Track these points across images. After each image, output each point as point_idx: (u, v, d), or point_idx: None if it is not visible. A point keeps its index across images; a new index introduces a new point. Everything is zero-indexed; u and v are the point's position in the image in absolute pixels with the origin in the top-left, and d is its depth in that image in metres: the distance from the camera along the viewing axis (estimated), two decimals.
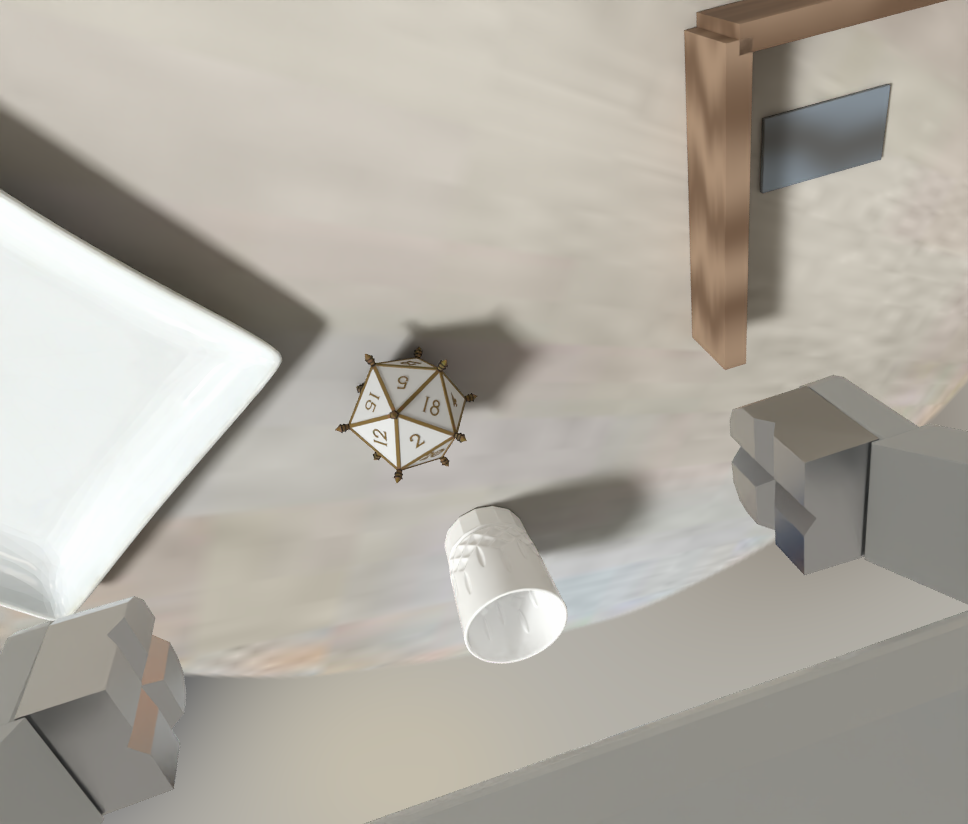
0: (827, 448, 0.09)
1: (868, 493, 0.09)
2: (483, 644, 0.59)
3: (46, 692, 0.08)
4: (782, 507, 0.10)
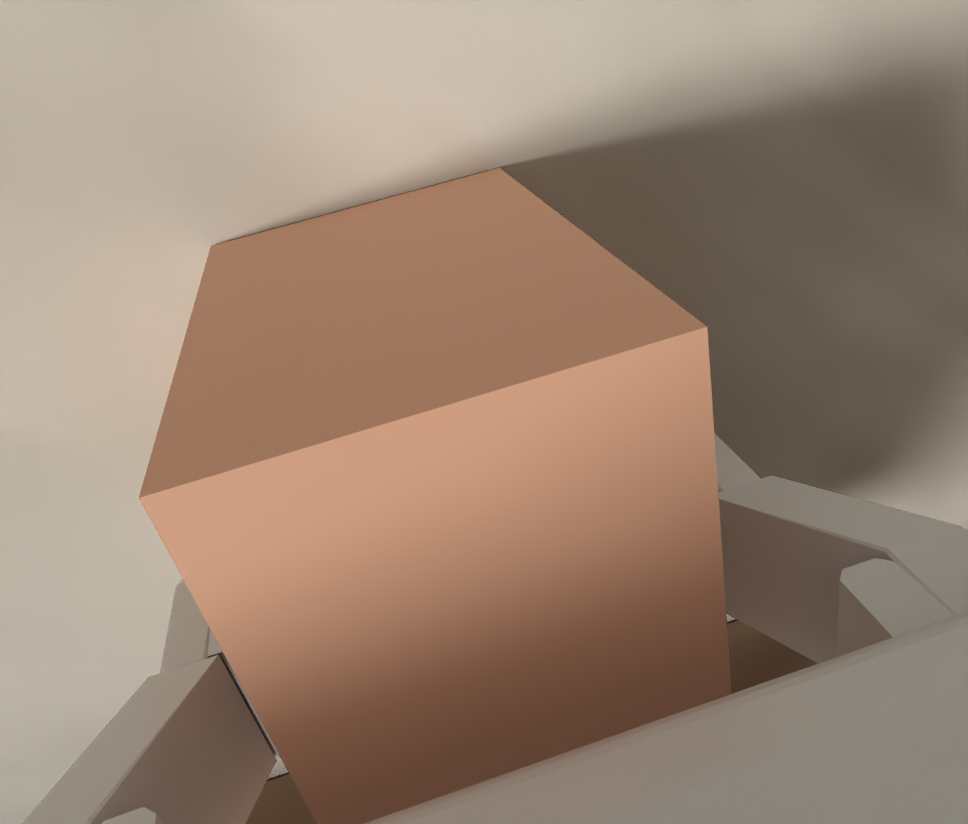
0: None
1: None
2: None
3: None
4: None
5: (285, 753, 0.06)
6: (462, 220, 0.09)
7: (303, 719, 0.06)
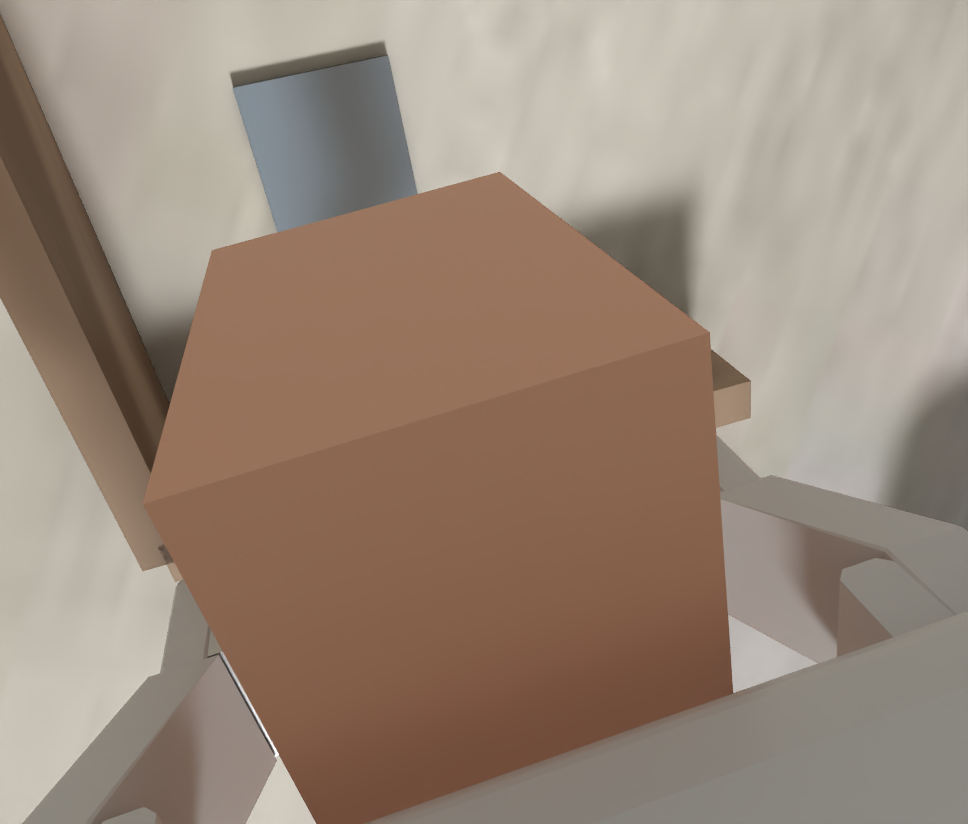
0: None
1: None
2: None
3: None
4: None
5: (288, 758, 0.06)
6: (463, 224, 0.09)
7: (306, 724, 0.06)
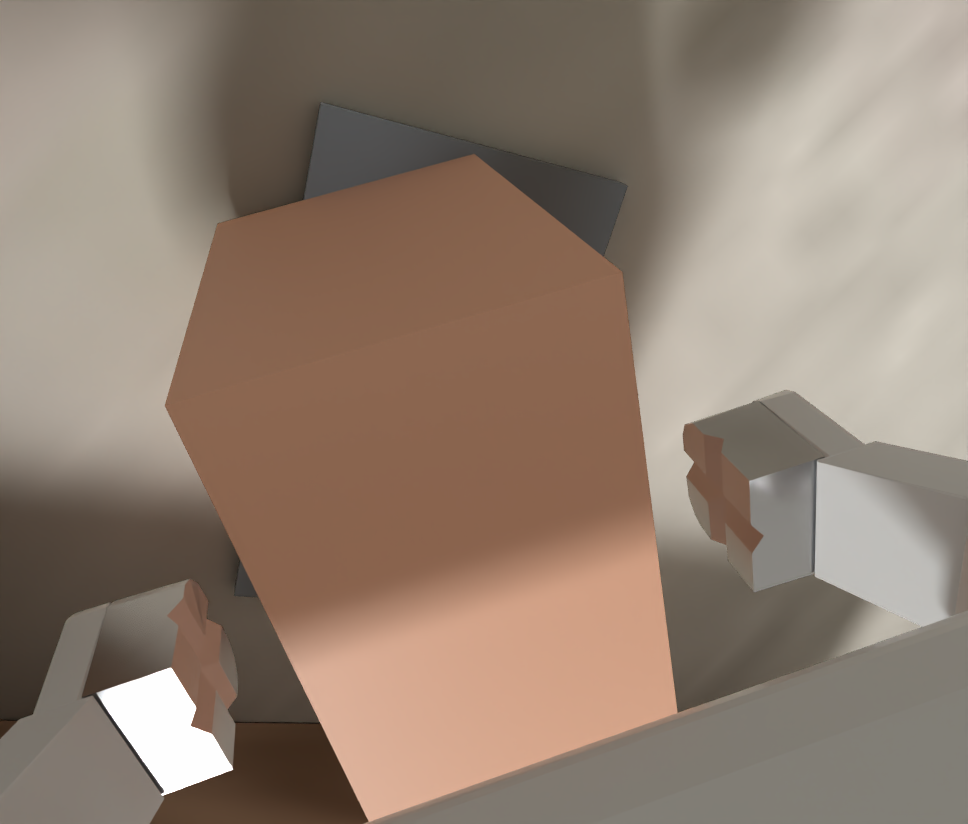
0: (773, 466, 0.09)
1: (815, 510, 0.09)
2: None
3: (111, 671, 0.08)
4: (732, 524, 0.10)
5: (282, 634, 0.08)
6: (438, 198, 0.10)
7: (297, 604, 0.08)
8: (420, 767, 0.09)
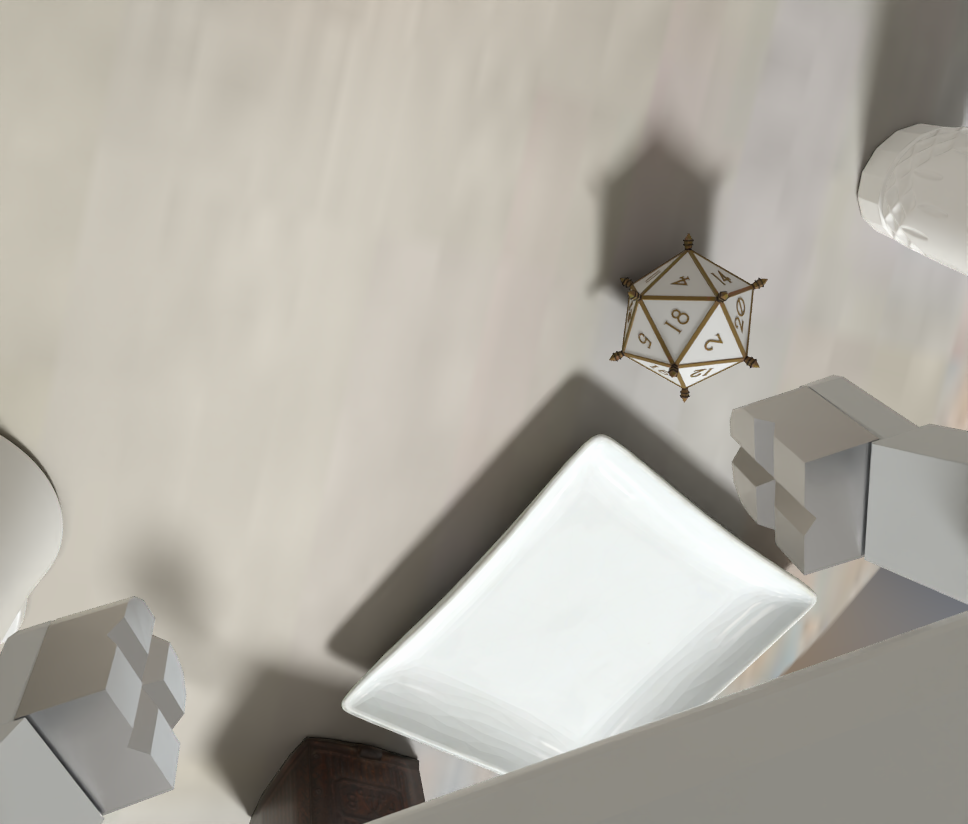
0: (827, 448, 0.09)
1: (868, 492, 0.09)
2: None
3: (46, 692, 0.08)
4: (782, 507, 0.10)
5: None
6: None
7: None
8: None
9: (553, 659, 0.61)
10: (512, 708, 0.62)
